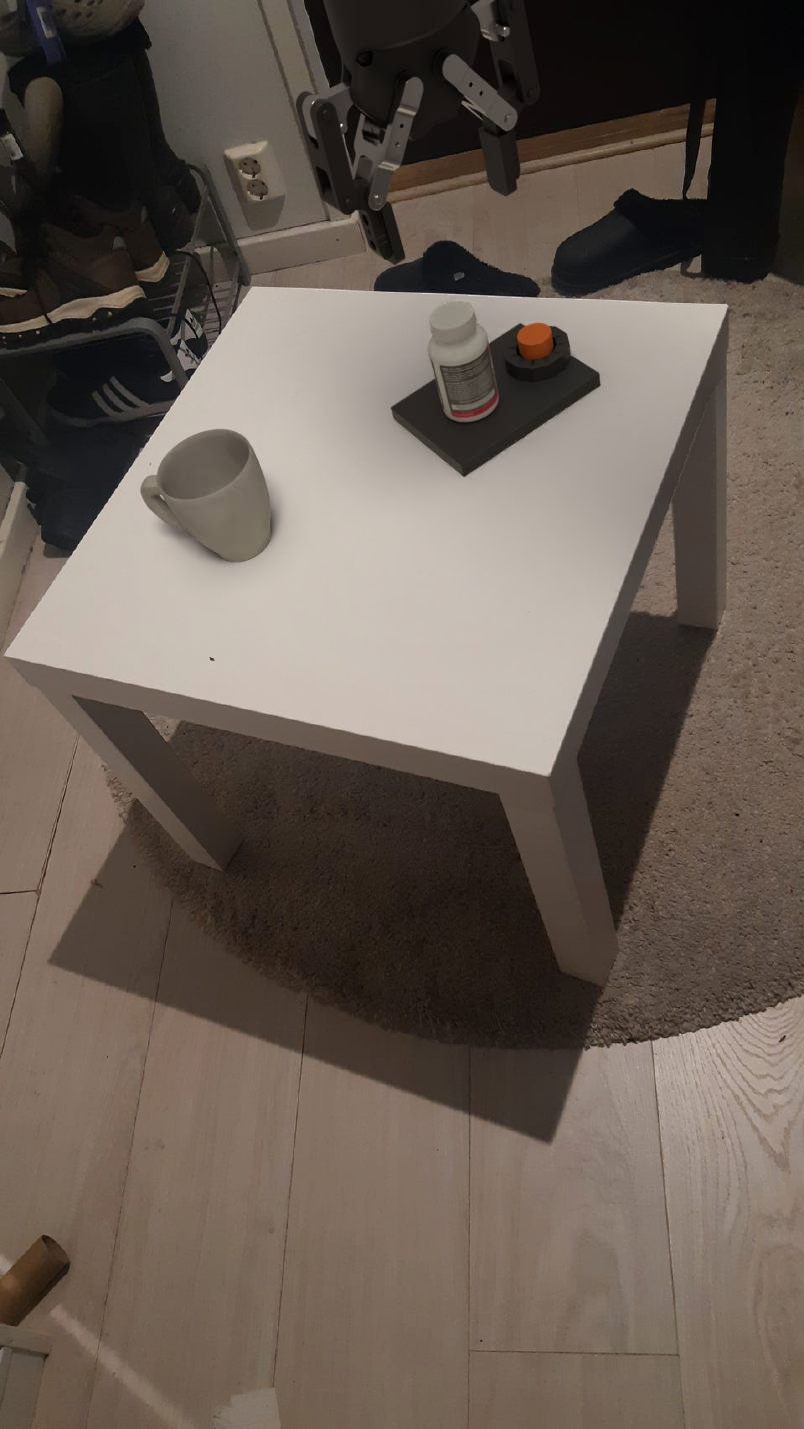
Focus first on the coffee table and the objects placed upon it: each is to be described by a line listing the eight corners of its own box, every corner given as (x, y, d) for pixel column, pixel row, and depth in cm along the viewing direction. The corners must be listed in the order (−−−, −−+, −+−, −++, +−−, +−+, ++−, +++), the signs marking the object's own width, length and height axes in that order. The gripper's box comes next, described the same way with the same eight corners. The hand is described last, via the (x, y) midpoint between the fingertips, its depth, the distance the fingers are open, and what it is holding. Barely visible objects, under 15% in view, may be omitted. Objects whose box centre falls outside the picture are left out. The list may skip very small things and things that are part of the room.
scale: (526, 331, 99) (522, 305, 96) (605, 382, 92) (603, 355, 90) (393, 418, 96) (385, 394, 94) (464, 477, 89) (457, 452, 87)
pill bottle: (511, 397, 92) (494, 305, 84) (472, 432, 90) (451, 342, 83) (470, 379, 95) (450, 288, 87) (431, 412, 93) (407, 323, 85)
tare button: (539, 334, 94) (537, 318, 93) (560, 347, 92) (558, 331, 91) (512, 351, 93) (510, 335, 92) (533, 365, 92) (531, 349, 90)
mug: (299, 504, 93) (263, 425, 85) (274, 576, 88) (234, 499, 81) (186, 507, 96) (142, 431, 89) (157, 577, 92) (108, 503, 84)
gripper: (293, -5, 46) (387, 304, 58) (538, -144, 47) (577, 185, 60) (225, -31, 50) (326, 261, 63) (452, -158, 52) (505, 152, 65)
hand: (449, 224), depth 62 cm, fingers open, 8 cm apart
